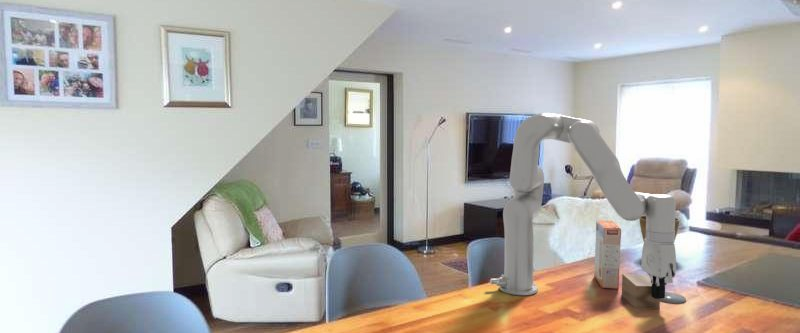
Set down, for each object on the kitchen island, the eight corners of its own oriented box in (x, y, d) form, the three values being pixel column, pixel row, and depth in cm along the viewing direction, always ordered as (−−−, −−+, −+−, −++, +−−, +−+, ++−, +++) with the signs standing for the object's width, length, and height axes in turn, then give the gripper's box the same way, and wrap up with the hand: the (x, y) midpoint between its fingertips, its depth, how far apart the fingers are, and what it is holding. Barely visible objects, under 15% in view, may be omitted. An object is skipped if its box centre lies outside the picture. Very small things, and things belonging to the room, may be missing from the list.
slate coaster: (665, 304, 157) (666, 302, 157) (647, 294, 166) (647, 292, 166) (692, 302, 158) (692, 300, 158) (672, 292, 167) (672, 291, 167)
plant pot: (679, 254, 215) (680, 216, 213) (676, 262, 202) (678, 222, 201) (640, 249, 223) (641, 213, 221) (635, 257, 210) (636, 219, 209)
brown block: (635, 308, 154) (636, 285, 153) (621, 295, 166) (622, 274, 165) (659, 309, 153) (660, 286, 152) (644, 295, 165) (644, 274, 164)
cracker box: (620, 289, 171) (622, 228, 169) (601, 288, 172) (602, 227, 170) (611, 277, 184) (613, 220, 182) (593, 276, 185) (595, 219, 184)
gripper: (633, 231, 156) (631, 290, 157) (664, 243, 141) (662, 307, 143) (655, 230, 157) (653, 288, 158) (689, 241, 142) (687, 305, 144)
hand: (658, 297), depth 151 cm, fingers closed
